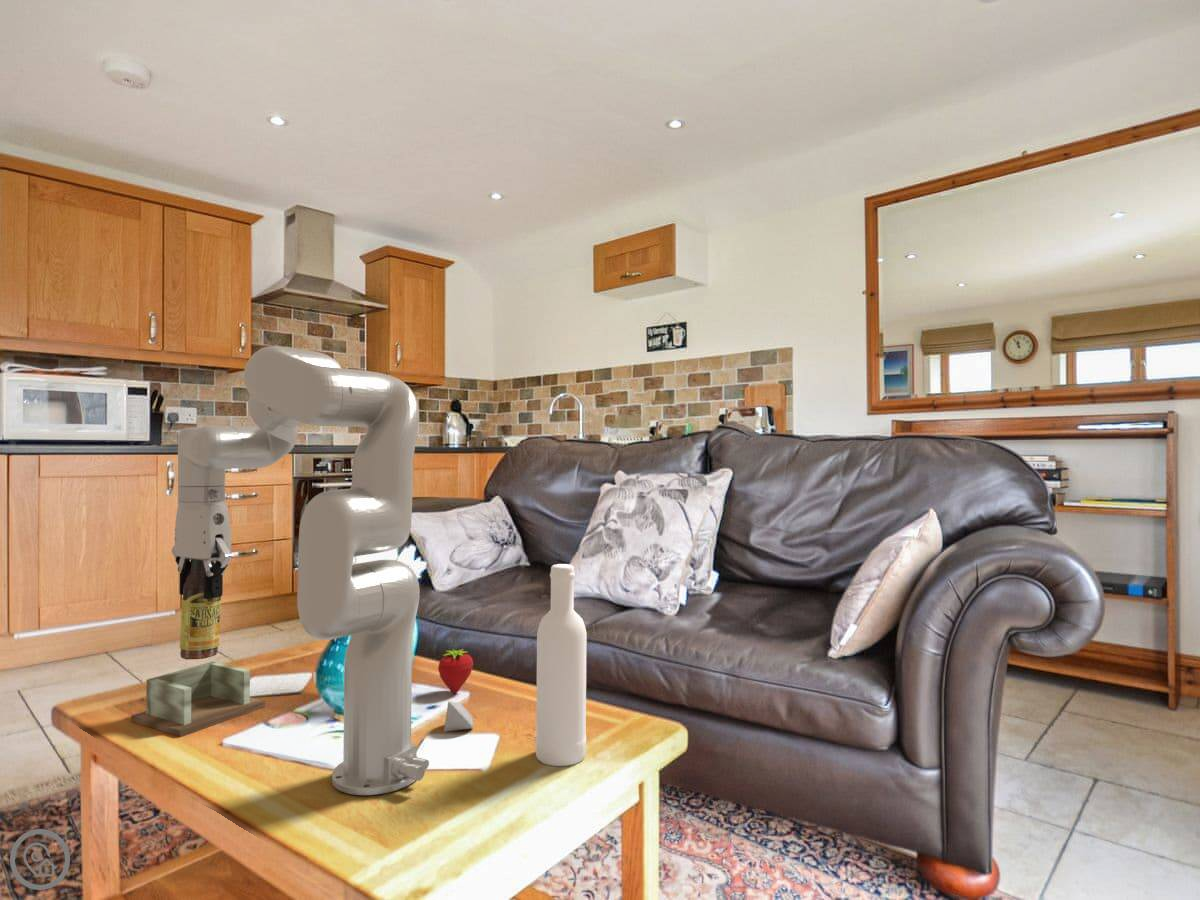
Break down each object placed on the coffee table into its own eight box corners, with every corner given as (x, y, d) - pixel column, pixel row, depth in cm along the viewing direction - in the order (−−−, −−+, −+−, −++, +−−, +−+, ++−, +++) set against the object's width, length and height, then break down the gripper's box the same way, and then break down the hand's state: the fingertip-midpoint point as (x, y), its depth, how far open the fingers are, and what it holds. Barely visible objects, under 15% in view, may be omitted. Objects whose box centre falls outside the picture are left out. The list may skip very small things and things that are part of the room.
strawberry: (480, 690, 143) (480, 640, 143) (452, 701, 137) (452, 649, 137) (458, 685, 147) (459, 636, 147) (430, 695, 141) (431, 644, 141)
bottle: (595, 753, 114) (597, 564, 114) (566, 771, 108) (567, 571, 108) (556, 741, 119) (557, 560, 119) (525, 758, 112) (526, 566, 112)
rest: (265, 706, 134) (265, 668, 134) (180, 736, 119) (180, 694, 119) (216, 694, 140) (217, 658, 140) (131, 721, 126) (131, 681, 126)
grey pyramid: (426, 713, 124) (448, 691, 126) (445, 733, 127) (467, 712, 129) (441, 730, 119) (464, 706, 121) (461, 751, 122) (483, 728, 124)
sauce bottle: (189, 663, 125) (189, 549, 125) (173, 657, 129) (174, 546, 129) (227, 655, 131) (228, 545, 131) (211, 649, 134) (211, 542, 134)
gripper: (252, 496, 129) (251, 597, 129) (191, 492, 137) (191, 587, 137) (212, 499, 122) (211, 604, 122) (151, 495, 130) (151, 594, 130)
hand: (200, 594), depth 130 cm, fingers closed on sauce bottle, 6 cm apart
